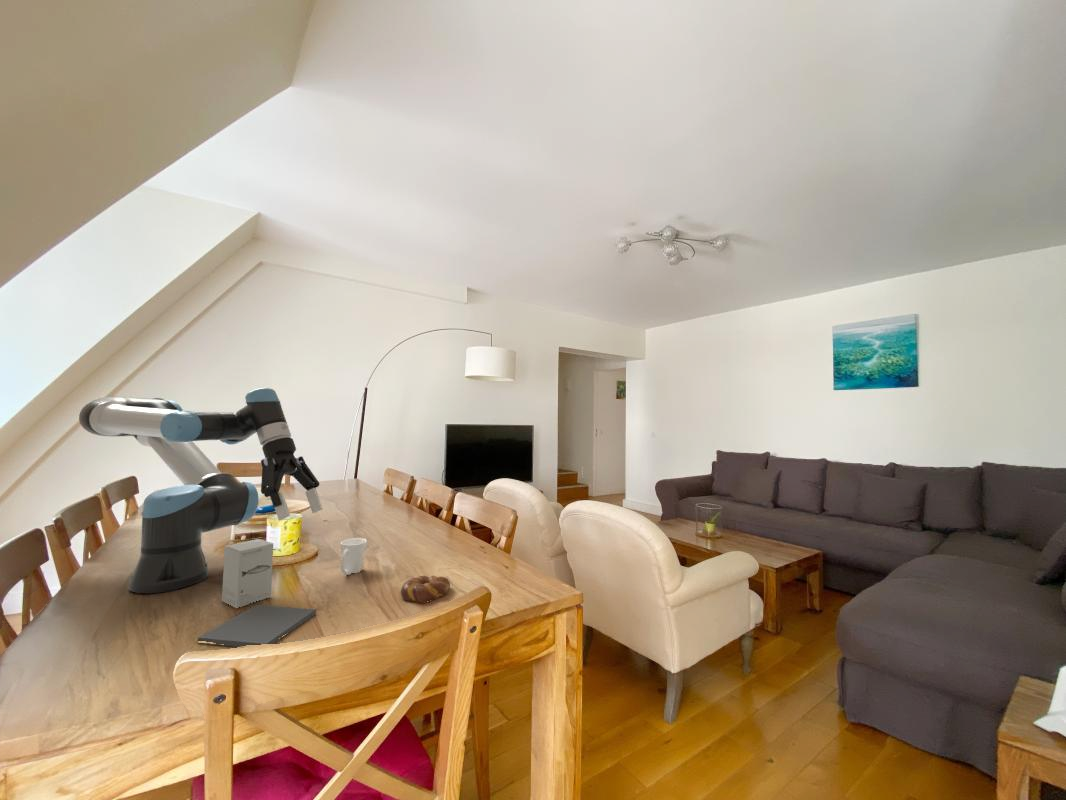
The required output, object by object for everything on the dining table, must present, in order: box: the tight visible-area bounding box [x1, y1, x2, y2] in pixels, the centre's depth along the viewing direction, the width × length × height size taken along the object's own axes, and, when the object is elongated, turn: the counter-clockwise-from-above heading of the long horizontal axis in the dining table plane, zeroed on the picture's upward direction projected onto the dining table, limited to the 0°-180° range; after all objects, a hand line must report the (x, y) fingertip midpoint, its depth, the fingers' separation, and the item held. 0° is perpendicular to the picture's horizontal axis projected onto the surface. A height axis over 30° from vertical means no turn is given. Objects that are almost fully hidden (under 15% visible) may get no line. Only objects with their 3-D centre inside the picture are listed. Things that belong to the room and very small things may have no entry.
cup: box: [339, 537, 368, 576], centre depth 114 cm, size 7×10×8 cm
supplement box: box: [221, 538, 274, 609], centre depth 97 cm, size 7×7×13 cm
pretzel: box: [400, 575, 451, 603], centre depth 101 cm, size 12×11×4 cm
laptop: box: [197, 604, 317, 648], centre depth 84 cm, size 14×14×1 cm
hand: (302, 514), depth 112 cm, fingers open, 13 cm apart
